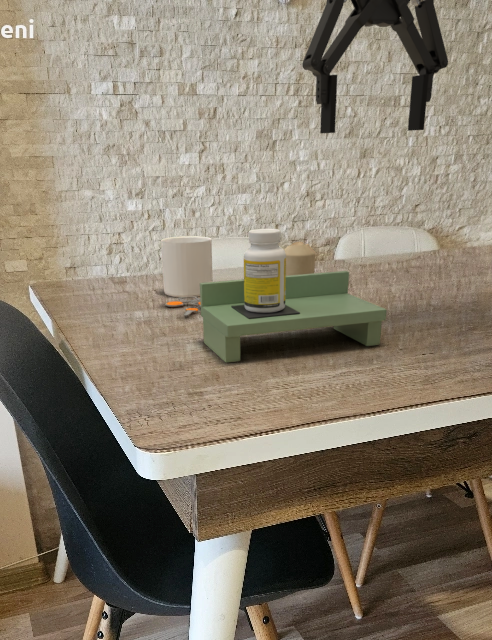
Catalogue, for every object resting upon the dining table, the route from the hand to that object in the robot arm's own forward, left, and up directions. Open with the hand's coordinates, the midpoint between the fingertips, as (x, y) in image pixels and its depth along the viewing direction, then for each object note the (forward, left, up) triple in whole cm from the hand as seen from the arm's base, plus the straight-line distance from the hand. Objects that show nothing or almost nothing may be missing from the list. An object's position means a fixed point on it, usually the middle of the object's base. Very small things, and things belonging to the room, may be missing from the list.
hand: (372, 132), depth 90 cm
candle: (+13, +4, -26) cm, 30 cm away
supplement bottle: (-8, +19, -21) cm, 29 cm away
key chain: (+18, +21, -26) cm, 38 cm away
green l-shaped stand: (-8, +14, -26) cm, 30 cm away
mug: (+32, +19, -26) cm, 45 cm away
